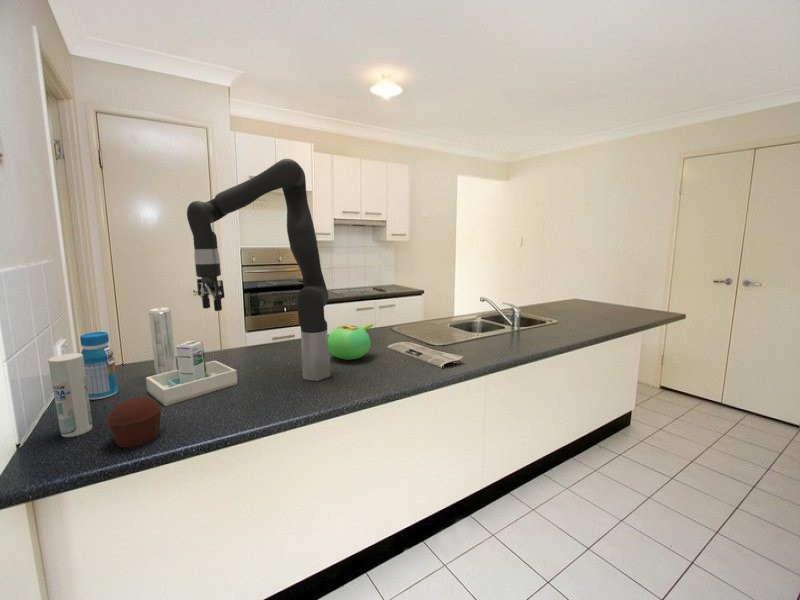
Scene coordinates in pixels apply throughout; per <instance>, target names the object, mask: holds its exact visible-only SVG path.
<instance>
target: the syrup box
mask: <svg viewBox="0 0 800 600" xmlns="http://www.w3.org/2000/svg"><path fill="white" fill-rule="evenodd" d="M175 350H176V351H175V352H176V358H177V359H176V360H177V366H178V367H177V368H178V369H179V376H180V385H181V384H184V383H188V382H192V381H195V380H199V379H203V378H206V377H207V373H206V364H205V363H206V355H205V347H204V342H203V341H200V340H188V341H186V342H183V343H181V344H178V345H175Z"/></svg>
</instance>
